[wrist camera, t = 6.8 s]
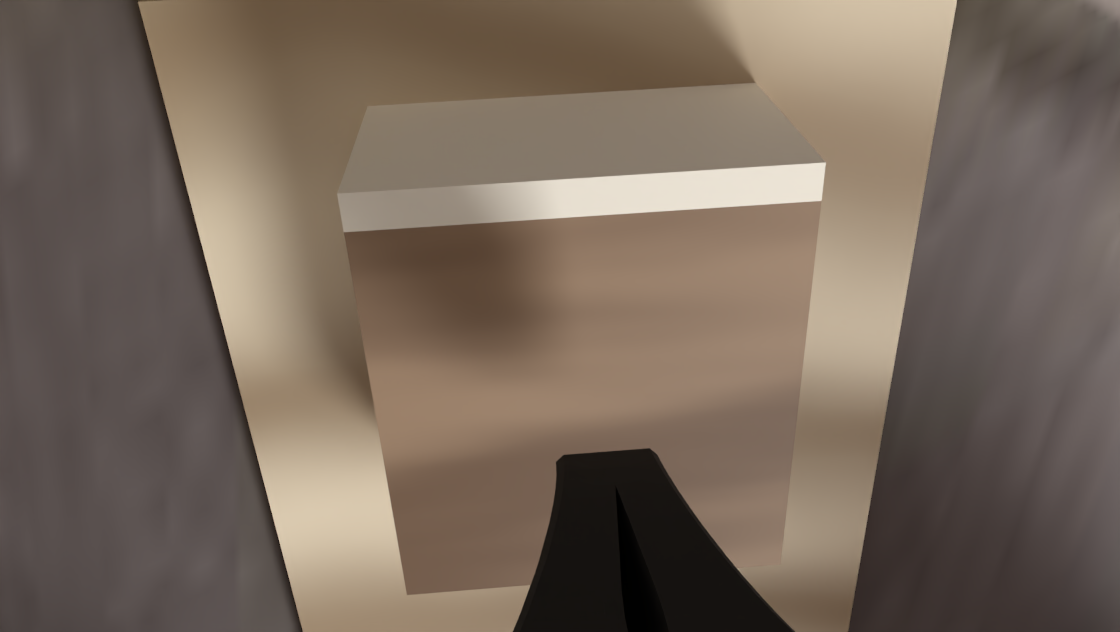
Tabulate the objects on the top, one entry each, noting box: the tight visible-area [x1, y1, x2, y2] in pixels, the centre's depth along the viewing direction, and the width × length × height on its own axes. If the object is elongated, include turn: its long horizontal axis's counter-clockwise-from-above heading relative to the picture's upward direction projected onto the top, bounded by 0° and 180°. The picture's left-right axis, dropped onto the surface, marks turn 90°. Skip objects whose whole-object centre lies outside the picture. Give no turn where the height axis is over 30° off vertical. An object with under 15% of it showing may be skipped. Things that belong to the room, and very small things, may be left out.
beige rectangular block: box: [337, 83, 826, 595], centre depth 17 cm, size 4×7×8 cm
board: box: [138, 0, 957, 632], centre depth 20 cm, size 18×14×1 cm
